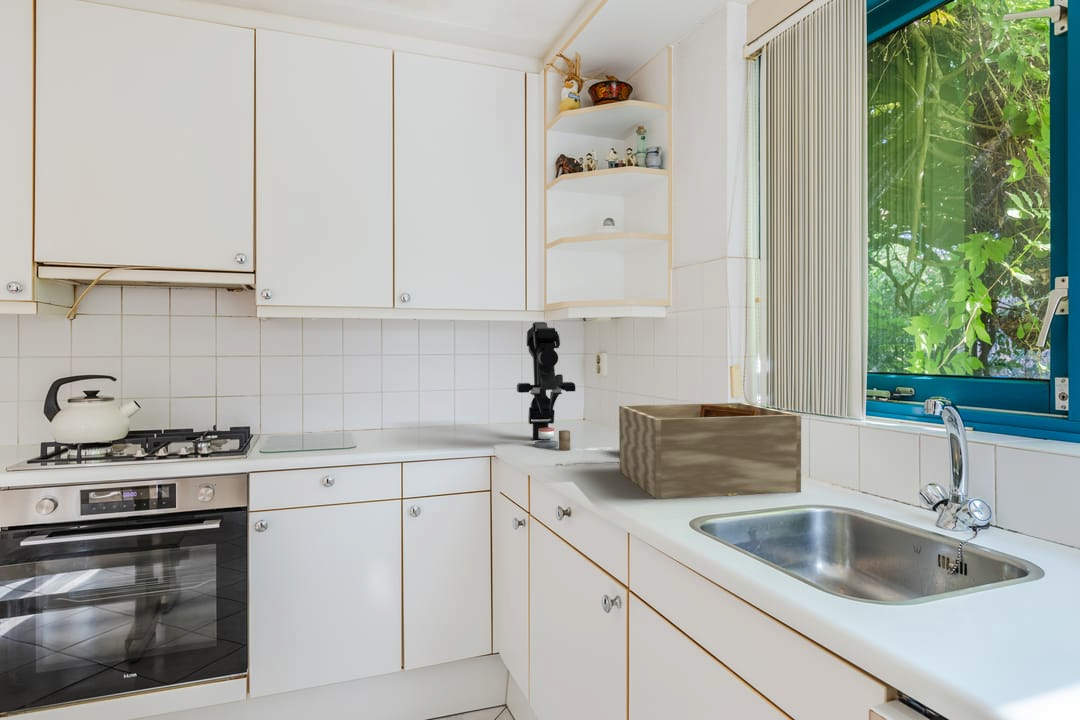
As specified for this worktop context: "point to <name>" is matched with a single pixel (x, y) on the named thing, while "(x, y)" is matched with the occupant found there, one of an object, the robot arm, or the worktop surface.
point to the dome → (546, 433)
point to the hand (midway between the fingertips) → (546, 413)
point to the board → (555, 444)
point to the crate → (709, 450)
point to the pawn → (564, 440)
